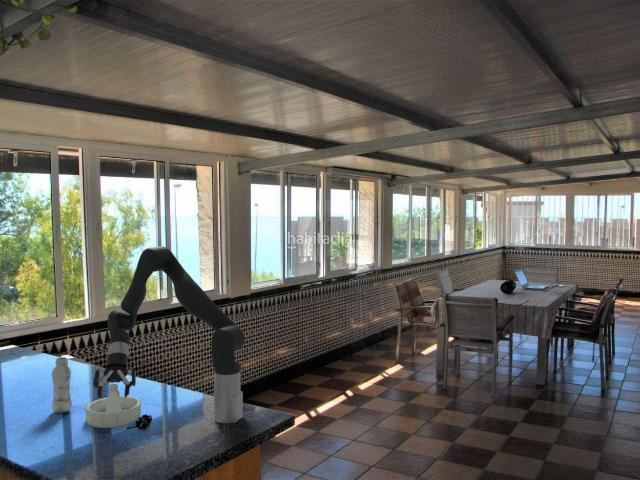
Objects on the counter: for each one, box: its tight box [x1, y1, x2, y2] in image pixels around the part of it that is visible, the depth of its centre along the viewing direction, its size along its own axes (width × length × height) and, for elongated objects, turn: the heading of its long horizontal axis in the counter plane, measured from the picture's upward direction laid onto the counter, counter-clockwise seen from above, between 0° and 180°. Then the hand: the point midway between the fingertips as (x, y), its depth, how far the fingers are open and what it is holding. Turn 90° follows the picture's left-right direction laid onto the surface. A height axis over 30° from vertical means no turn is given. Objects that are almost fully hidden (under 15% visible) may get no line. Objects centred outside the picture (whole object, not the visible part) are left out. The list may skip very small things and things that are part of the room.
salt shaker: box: [106, 383, 122, 413], centre depth 191 cm, size 5×5×11 cm
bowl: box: [85, 395, 142, 429], centre depth 191 cm, size 18×18×5 cm
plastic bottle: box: [51, 357, 73, 414], centre depth 197 cm, size 6×7×20 cm
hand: (113, 396), depth 190 cm, fingers open, 8 cm apart
